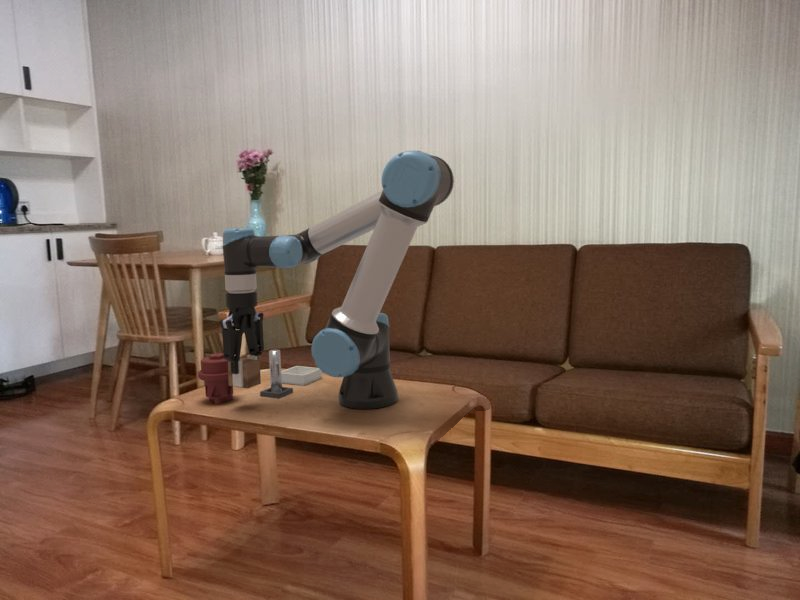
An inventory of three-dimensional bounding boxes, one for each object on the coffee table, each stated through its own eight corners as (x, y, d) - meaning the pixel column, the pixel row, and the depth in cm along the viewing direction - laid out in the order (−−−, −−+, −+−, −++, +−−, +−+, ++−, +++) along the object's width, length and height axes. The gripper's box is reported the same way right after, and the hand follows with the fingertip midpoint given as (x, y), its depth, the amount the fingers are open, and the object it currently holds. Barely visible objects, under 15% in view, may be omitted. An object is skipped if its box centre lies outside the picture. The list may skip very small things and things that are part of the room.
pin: (284, 393, 170) (282, 350, 169) (277, 396, 168) (275, 352, 166) (275, 392, 172) (273, 349, 170) (268, 395, 169) (266, 351, 167)
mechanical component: (220, 408, 158) (191, 403, 163) (247, 397, 167) (219, 393, 172) (217, 360, 157) (188, 357, 161) (244, 352, 165) (216, 349, 170)
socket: (293, 392, 171) (292, 388, 171) (279, 398, 165) (278, 393, 165) (274, 390, 174) (274, 385, 174) (260, 395, 168) (260, 391, 168)
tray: (322, 378, 186) (321, 368, 185) (304, 385, 177) (303, 375, 177) (296, 375, 190) (296, 365, 189) (278, 382, 182) (277, 372, 181)
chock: (260, 383, 158) (260, 360, 157) (247, 388, 154) (246, 364, 153) (242, 380, 161) (241, 358, 160) (228, 385, 156) (227, 362, 155)
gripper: (253, 286, 163) (257, 373, 167) (203, 294, 147) (208, 390, 151) (276, 287, 160) (280, 376, 163) (227, 296, 144) (233, 394, 147)
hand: (245, 383), depth 157 cm, fingers closed on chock, 5 cm apart
